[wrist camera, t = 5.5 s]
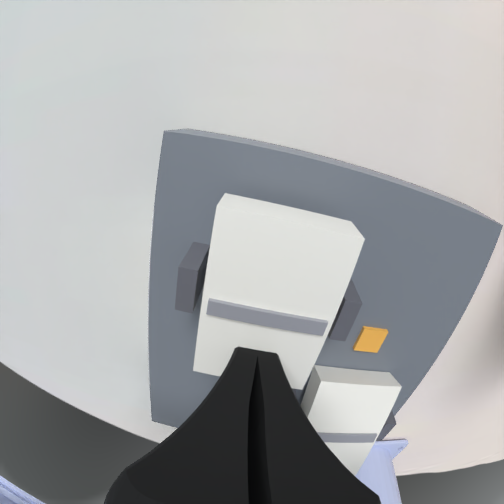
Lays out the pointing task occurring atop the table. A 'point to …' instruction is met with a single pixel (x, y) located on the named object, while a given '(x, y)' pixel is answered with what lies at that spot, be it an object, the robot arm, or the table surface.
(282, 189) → the console
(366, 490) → the robot arm
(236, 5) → the table surface
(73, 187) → the table surface
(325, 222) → the rocker
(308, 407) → the rocker
